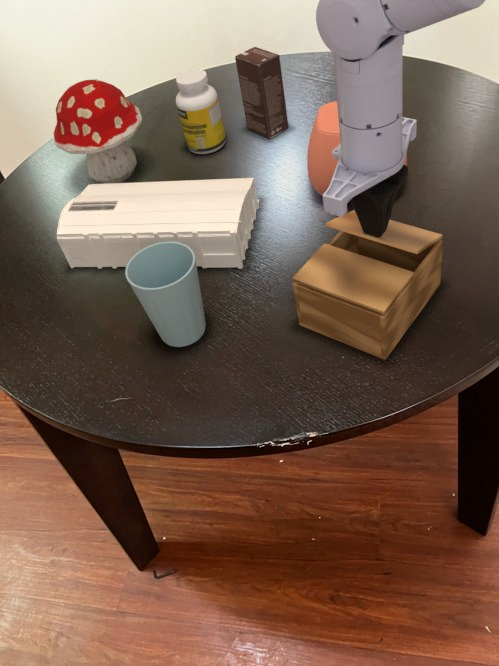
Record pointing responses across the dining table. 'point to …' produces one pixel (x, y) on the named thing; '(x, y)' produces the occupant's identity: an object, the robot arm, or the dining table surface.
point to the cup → (169, 291)
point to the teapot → (324, 147)
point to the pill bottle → (199, 112)
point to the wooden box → (365, 291)
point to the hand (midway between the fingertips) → (374, 231)
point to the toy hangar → (159, 221)
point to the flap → (389, 233)
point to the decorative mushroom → (98, 129)
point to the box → (262, 91)
